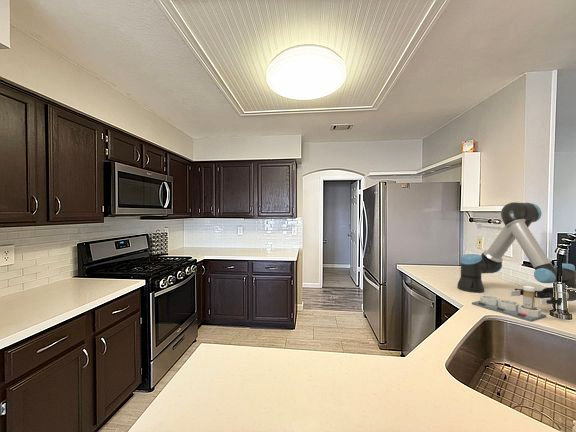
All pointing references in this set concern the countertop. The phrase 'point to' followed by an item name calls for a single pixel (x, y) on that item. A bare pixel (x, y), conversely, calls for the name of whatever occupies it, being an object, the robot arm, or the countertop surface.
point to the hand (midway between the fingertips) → (524, 297)
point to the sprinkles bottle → (528, 297)
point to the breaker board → (508, 312)
